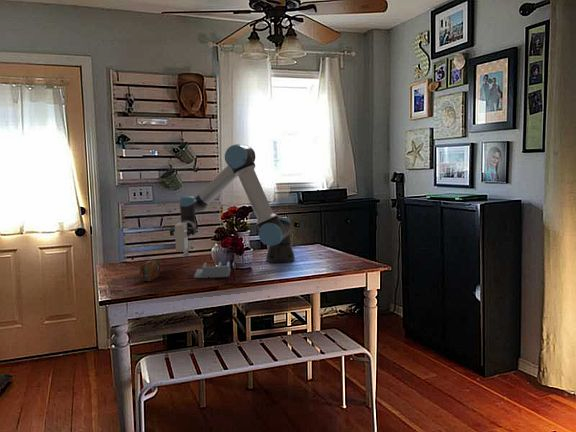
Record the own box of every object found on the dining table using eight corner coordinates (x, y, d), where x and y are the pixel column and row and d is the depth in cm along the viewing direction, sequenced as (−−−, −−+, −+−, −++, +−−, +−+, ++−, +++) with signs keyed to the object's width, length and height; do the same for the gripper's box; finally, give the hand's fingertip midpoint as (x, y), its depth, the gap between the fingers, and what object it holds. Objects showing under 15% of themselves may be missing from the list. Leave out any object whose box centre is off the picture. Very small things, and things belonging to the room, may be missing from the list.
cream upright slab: (188, 246, 239) (186, 222, 238) (184, 251, 227) (183, 225, 226) (179, 247, 239) (178, 222, 238) (176, 251, 227) (174, 225, 226)
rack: (230, 269, 243) (230, 259, 243) (229, 276, 227) (228, 266, 227) (197, 270, 242) (197, 261, 241) (193, 278, 226) (193, 267, 225)
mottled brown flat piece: (145, 283, 219) (144, 264, 218) (139, 283, 219) (138, 264, 219) (161, 275, 233) (160, 258, 233) (154, 275, 234) (153, 258, 233)
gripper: (203, 235, 251) (198, 242, 228) (169, 236, 250) (161, 243, 227) (202, 220, 250) (198, 226, 227) (168, 221, 249) (160, 227, 226)
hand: (179, 234), depth 227 cm, fingers closed on cream upright slab, 4 cm apart
